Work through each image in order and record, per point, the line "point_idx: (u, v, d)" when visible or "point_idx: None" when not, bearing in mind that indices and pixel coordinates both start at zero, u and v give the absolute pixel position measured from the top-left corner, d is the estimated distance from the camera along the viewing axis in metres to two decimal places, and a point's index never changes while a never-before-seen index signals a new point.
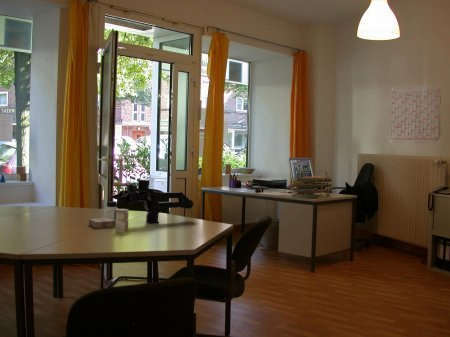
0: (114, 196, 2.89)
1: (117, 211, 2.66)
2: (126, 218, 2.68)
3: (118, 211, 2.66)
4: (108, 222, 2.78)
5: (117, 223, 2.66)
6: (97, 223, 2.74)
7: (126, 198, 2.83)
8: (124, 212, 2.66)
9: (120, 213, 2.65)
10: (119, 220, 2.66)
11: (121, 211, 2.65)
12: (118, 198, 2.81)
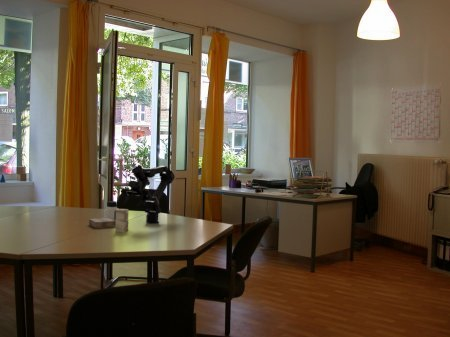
0: (125, 201, 2.78)
1: (117, 211, 2.66)
2: (126, 218, 2.68)
3: (118, 211, 2.66)
4: (108, 222, 2.78)
5: (117, 223, 2.66)
6: (97, 223, 2.74)
7: (142, 198, 2.77)
8: (124, 212, 2.66)
9: (120, 213, 2.65)
10: (119, 220, 2.66)
11: (121, 211, 2.65)
12: (138, 204, 2.74)
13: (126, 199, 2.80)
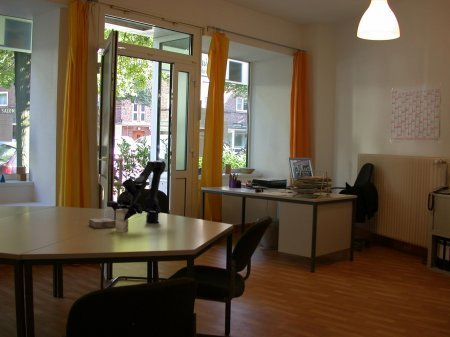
0: None
1: (117, 211, 2.66)
2: None
3: (118, 211, 2.66)
4: (108, 222, 2.78)
5: (117, 223, 2.66)
6: (97, 223, 2.74)
7: (130, 212, 2.69)
8: (124, 212, 2.66)
9: (120, 213, 2.65)
10: (119, 220, 2.66)
11: (121, 211, 2.65)
12: (125, 218, 2.66)
13: None
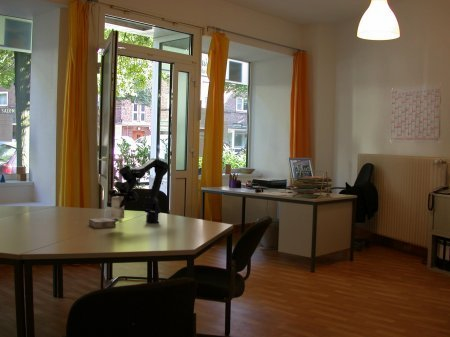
0: None
1: (113, 198, 2.67)
2: None
3: (114, 198, 2.67)
4: (108, 222, 2.78)
5: (113, 210, 2.68)
6: (97, 223, 2.74)
7: (126, 199, 2.70)
8: (120, 199, 2.67)
9: (115, 200, 2.67)
10: (114, 207, 2.67)
11: (116, 198, 2.66)
12: (121, 205, 2.67)
13: None
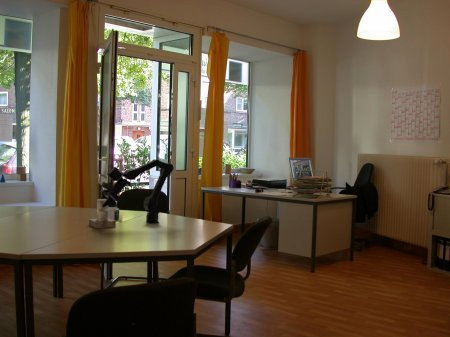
0: None
1: (97, 200, 2.81)
2: (105, 208, 2.80)
3: (98, 201, 2.80)
4: (108, 222, 2.78)
5: (97, 212, 2.81)
6: (97, 223, 2.74)
7: (110, 199, 2.78)
8: (102, 202, 2.78)
9: (98, 203, 2.79)
10: (98, 209, 2.80)
11: (99, 201, 2.78)
12: (103, 205, 2.76)
13: None
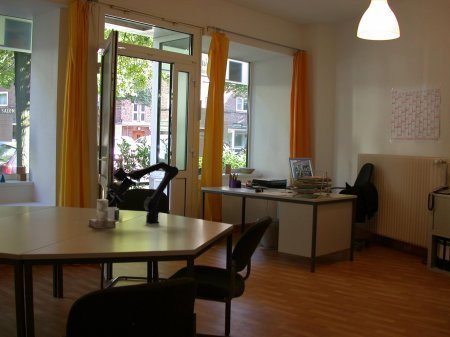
0: None
1: (97, 201, 2.81)
2: (104, 208, 2.80)
3: (97, 201, 2.80)
4: (108, 222, 2.78)
5: (97, 212, 2.81)
6: (97, 223, 2.74)
7: (116, 200, 2.79)
8: (101, 202, 2.78)
9: (98, 203, 2.79)
10: (98, 209, 2.80)
11: (99, 201, 2.78)
12: (109, 205, 2.78)
13: (108, 200, 2.88)
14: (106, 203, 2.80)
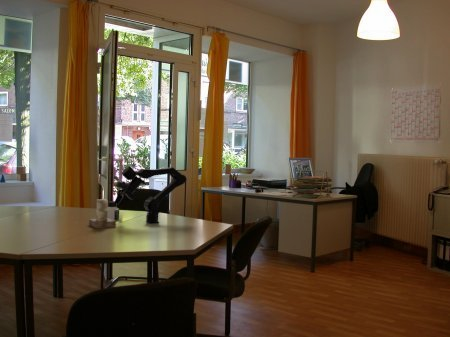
0: (116, 201, 2.91)
1: (97, 201, 2.81)
2: (104, 208, 2.80)
3: (97, 201, 2.80)
4: (108, 222, 2.78)
5: (97, 212, 2.81)
6: (97, 223, 2.74)
7: (125, 198, 2.83)
8: (101, 202, 2.78)
9: (98, 203, 2.79)
10: (97, 209, 2.80)
11: (98, 201, 2.79)
12: (119, 204, 2.82)
13: (118, 199, 2.92)
14: (106, 203, 2.80)
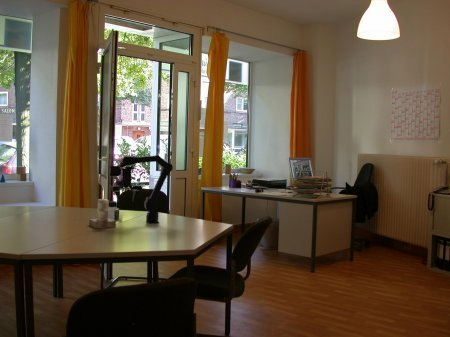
0: (133, 198, 2.96)
1: (98, 200, 2.81)
2: (105, 208, 2.80)
3: (98, 200, 2.80)
4: (108, 222, 2.78)
5: (97, 212, 2.81)
6: (97, 223, 2.74)
7: (117, 193, 2.90)
8: (102, 202, 2.78)
9: (99, 202, 2.79)
10: (98, 209, 2.80)
11: (99, 201, 2.79)
12: (118, 200, 2.90)
13: (133, 195, 2.95)
14: (106, 203, 2.80)
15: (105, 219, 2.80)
